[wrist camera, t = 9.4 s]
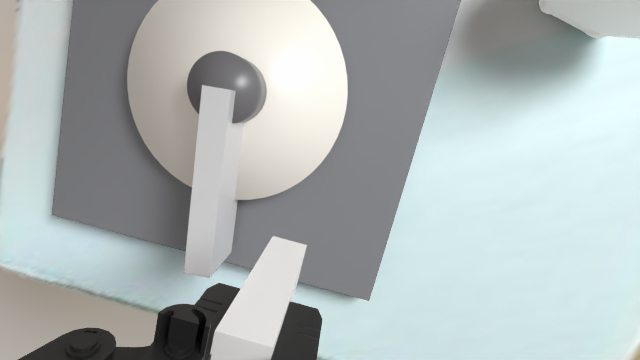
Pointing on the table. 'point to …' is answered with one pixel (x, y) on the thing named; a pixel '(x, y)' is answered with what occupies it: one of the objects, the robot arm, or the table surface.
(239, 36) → the dial
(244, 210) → the dial base
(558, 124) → the table surface
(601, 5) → the white bone
